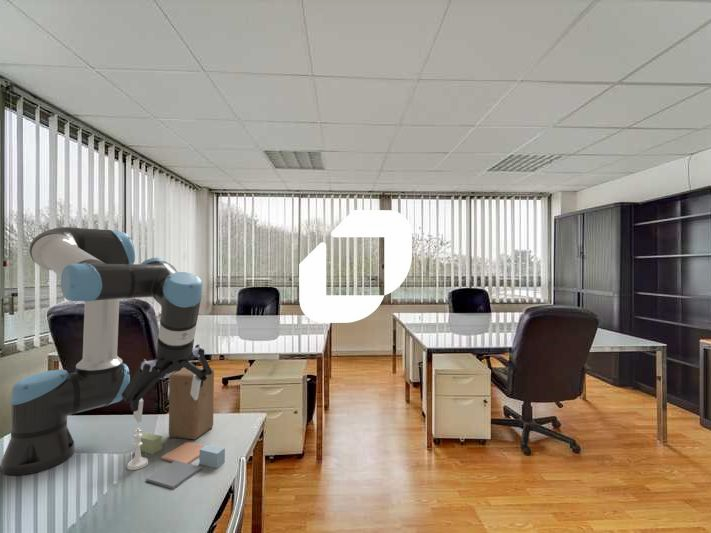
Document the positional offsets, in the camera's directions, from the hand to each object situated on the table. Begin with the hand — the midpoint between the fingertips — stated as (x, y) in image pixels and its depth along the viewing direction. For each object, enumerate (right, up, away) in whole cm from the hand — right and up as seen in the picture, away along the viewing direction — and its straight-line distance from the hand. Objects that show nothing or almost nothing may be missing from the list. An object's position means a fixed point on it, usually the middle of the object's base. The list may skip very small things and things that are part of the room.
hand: (167, 407), depth 89 cm
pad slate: (0, -19, +3) cm, 19 cm away
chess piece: (-12, -19, +7) cm, 23 cm away
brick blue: (+8, -19, +9) cm, 22 cm away
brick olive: (-13, -19, +15) cm, 28 cm away
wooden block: (-6, -19, +27) cm, 33 cm away
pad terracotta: (-1, -19, +13) cm, 23 cm away
